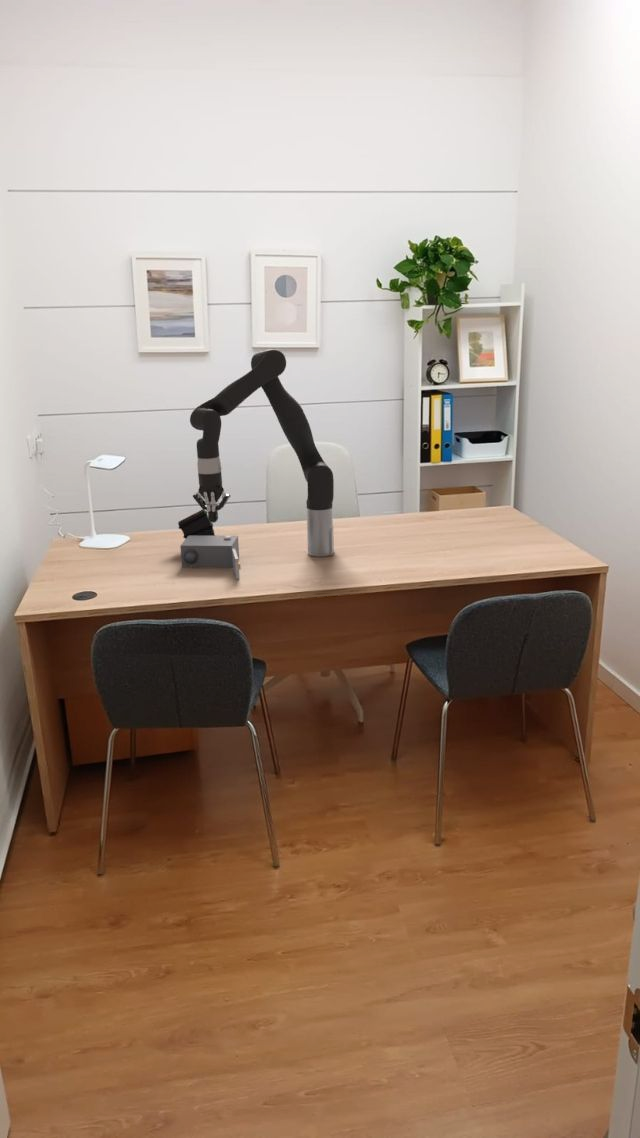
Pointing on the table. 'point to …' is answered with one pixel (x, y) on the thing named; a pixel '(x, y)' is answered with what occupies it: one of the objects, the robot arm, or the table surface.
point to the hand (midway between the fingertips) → (213, 521)
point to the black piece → (197, 525)
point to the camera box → (208, 551)
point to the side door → (235, 563)
